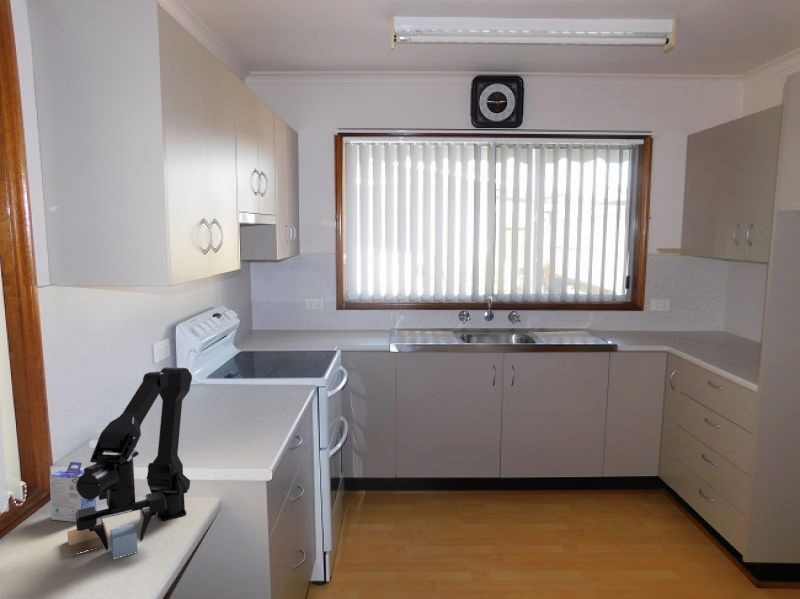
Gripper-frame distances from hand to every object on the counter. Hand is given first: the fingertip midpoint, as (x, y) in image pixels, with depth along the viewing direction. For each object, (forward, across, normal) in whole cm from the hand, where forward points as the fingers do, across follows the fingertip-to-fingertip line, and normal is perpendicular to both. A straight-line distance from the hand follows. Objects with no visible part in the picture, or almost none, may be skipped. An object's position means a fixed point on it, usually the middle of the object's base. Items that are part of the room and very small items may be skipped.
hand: (124, 545), depth 129 cm
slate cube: (+2, 0, 0) cm, 2 cm away
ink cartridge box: (+2, +9, -27) cm, 29 cm away
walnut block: (+2, +7, -9) cm, 12 cm away
